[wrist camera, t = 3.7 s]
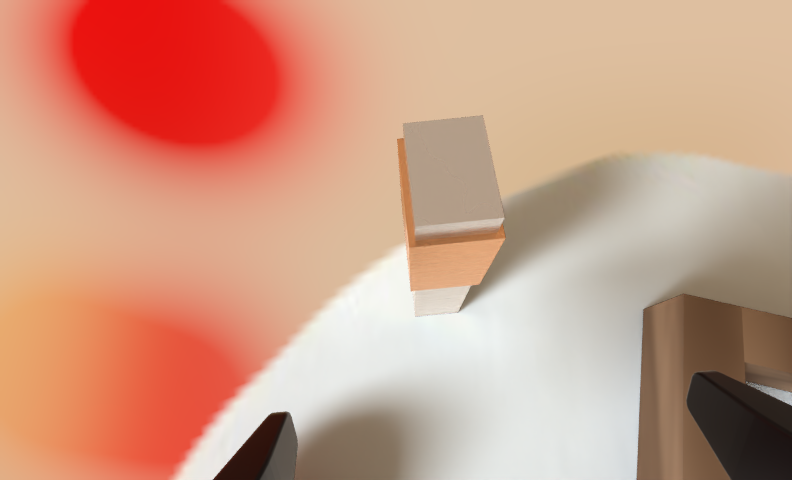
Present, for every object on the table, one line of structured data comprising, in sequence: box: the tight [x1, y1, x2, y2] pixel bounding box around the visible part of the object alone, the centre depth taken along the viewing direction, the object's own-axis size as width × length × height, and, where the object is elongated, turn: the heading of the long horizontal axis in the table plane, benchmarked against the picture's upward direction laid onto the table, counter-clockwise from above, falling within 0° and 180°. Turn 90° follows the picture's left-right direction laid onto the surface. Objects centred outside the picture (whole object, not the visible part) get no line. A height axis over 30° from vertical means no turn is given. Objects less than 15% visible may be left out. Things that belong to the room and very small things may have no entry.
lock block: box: [637, 294, 792, 480], centre depth 17 cm, size 11×11×4 cm
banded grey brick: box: [397, 115, 506, 317], centre depth 17 cm, size 4×3×12 cm
